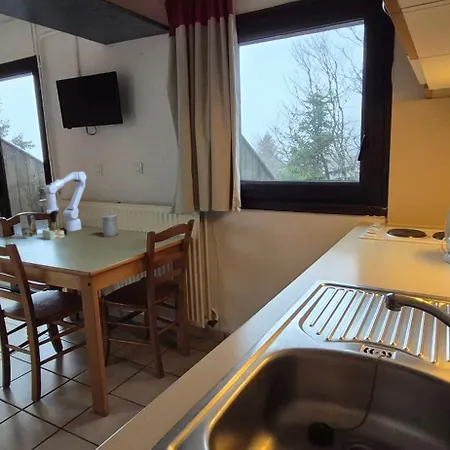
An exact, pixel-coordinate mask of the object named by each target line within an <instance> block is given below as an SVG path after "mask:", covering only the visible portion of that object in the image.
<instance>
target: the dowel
mask: <svg viewBox="0 0 450 450" xmlns="http://www.w3.org/2000/svg"><path fill="white" fill-rule="evenodd" d="M50 229H51V230H50V231H53V230H57V225H56V222H52V221H51V222H50Z"/></svg>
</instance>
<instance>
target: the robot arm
mask: <svg viewBox="0 0 450 450" xmlns="http://www.w3.org/2000/svg"><path fill="white" fill-rule="evenodd" d="M86 180H87V175H86V173H85V172H84V171H73V172H70V173H68V175H66V176H65V177H63V178H61V179H55V181H53V182H51V183H50V184H46V185H45V186H44V188H43V191H44V193H45V197H46V204H47V210H46V211H45V212H46V214H47V215H48V216H49V219H50V220H51V223H52V222H55V223H56V222H57V217H58V214H59V209H60V208H59V206H58V205H57V198H56V197H57V196H56V193H57V191H58V190H60V189H61V188H63V187H64V186H65V184H66V183H67V184H68V183H69V182H70V181H73V182H74V184H75V185H76V187H75V190H74V192H73V195H72V197H71V200H70V203H69V205H68V206H67V207H66V208H65V209H64V211H63V212H62V217H63V218H64V220H65V226H66V231H67V232H74V231H79V230H82V222H81V219H80V218H78V217H79V211H80V210H79V208H78V207H79V204H80V201H81V199H82V197H83V193H84V190H85V188H86Z"/></svg>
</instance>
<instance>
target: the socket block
mask: <svg viewBox="0 0 450 450" xmlns="http://www.w3.org/2000/svg"><path fill="white" fill-rule="evenodd" d="M53 236H54V239H60V238H65V237H66V236H65V231H64V230H61V229H56V230H53Z"/></svg>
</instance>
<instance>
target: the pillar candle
mask: <svg viewBox="0 0 450 450" xmlns="http://www.w3.org/2000/svg"><path fill="white" fill-rule="evenodd" d="M101 223H102V225H101V226H102V231H103V233H102V235H103V237H105V238H109V237H110V238H112V237H117V236H119V229H118V227H119V225H118V219H117V214H114V213H113V214H111V213H108V214H104V215H102V216H101Z"/></svg>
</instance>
